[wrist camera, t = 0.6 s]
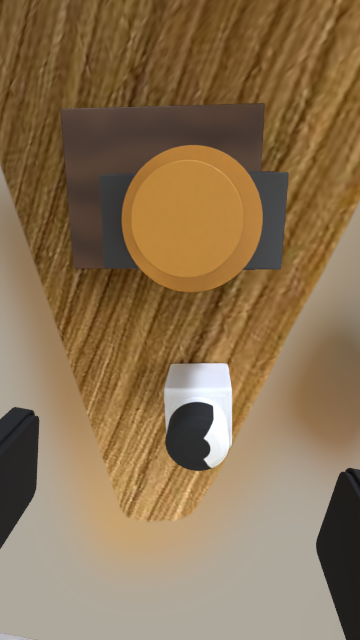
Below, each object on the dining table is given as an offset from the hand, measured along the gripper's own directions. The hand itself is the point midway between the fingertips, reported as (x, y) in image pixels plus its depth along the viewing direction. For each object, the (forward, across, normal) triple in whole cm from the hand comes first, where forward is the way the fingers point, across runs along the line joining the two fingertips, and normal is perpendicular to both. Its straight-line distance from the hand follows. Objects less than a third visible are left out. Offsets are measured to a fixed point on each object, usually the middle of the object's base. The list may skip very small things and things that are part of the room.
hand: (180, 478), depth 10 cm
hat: (+14, +2, -8) cm, 16 cm away
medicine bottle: (+31, -2, +12) cm, 33 cm away
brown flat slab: (+30, +6, -10) cm, 32 cm away
